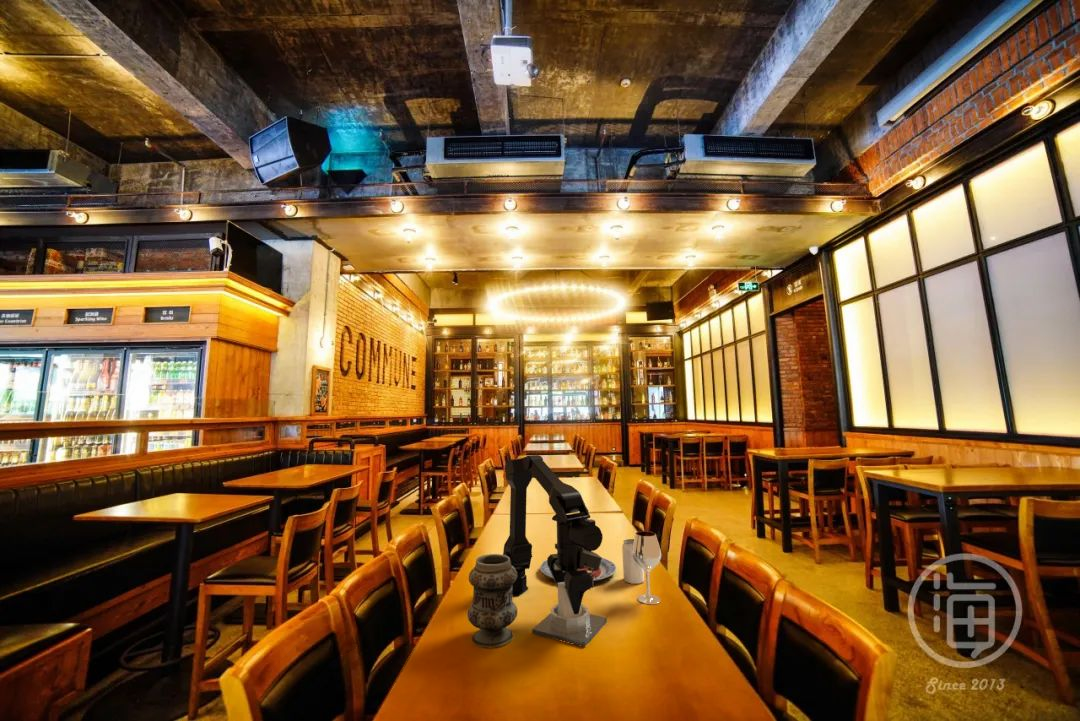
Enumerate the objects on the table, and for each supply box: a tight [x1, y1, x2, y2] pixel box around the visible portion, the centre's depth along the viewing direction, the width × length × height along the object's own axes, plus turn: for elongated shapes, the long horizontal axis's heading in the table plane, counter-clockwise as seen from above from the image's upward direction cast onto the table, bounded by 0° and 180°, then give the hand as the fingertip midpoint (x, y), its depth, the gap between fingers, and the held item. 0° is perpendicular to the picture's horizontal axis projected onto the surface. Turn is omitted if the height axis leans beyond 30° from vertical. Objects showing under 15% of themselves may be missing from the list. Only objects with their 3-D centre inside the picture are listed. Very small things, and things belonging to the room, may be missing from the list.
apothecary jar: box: [466, 553, 518, 649], centre depth 104 cm, size 12×12×18 cm
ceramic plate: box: [539, 557, 617, 582], centre depth 145 cm, size 26×26×3 cm
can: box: [621, 538, 645, 585], centre depth 137 cm, size 6×6×12 cm
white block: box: [557, 582, 583, 618], centre depth 107 cm, size 5×5×9 cm
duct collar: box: [531, 603, 608, 648], centre depth 107 cm, size 14×14×4 cm
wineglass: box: [632, 530, 662, 605], centre depth 123 cm, size 8×8×18 cm
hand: (569, 606), depth 107 cm, fingers open, 9 cm apart
